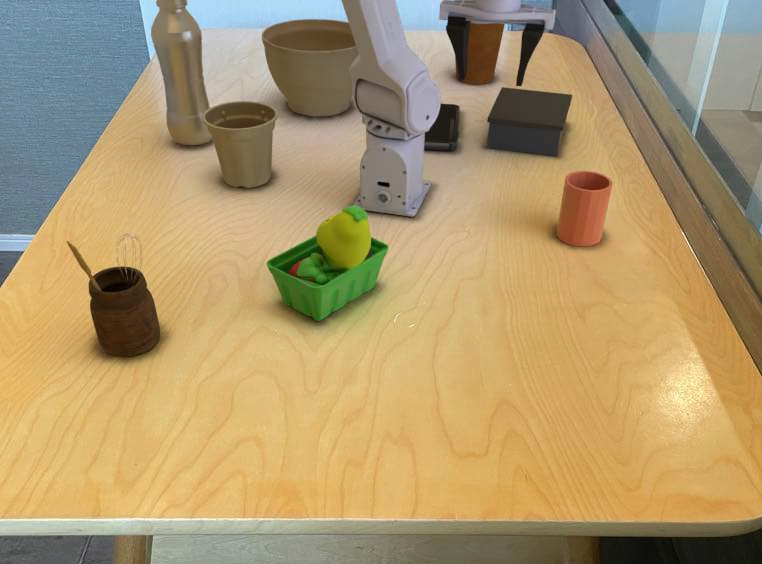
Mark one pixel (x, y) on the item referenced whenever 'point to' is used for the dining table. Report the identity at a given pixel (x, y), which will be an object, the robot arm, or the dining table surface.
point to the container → (528, 121)
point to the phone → (444, 129)
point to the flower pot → (243, 140)
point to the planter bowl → (312, 64)
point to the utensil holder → (121, 308)
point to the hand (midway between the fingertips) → (490, 80)
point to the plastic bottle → (181, 71)
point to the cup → (583, 208)
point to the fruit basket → (330, 265)
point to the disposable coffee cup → (482, 52)
